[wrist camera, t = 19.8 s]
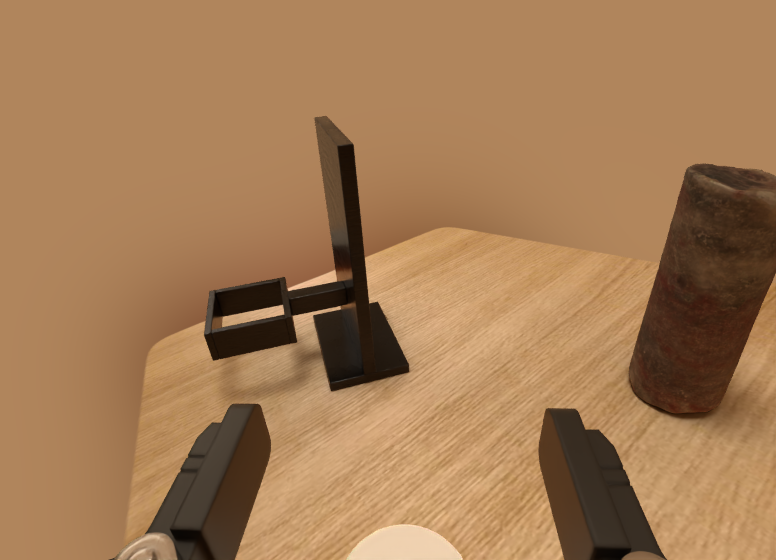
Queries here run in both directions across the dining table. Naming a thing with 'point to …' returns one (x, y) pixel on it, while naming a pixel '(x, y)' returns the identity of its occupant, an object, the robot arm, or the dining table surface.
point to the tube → (404, 545)
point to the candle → (706, 288)
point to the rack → (319, 291)
